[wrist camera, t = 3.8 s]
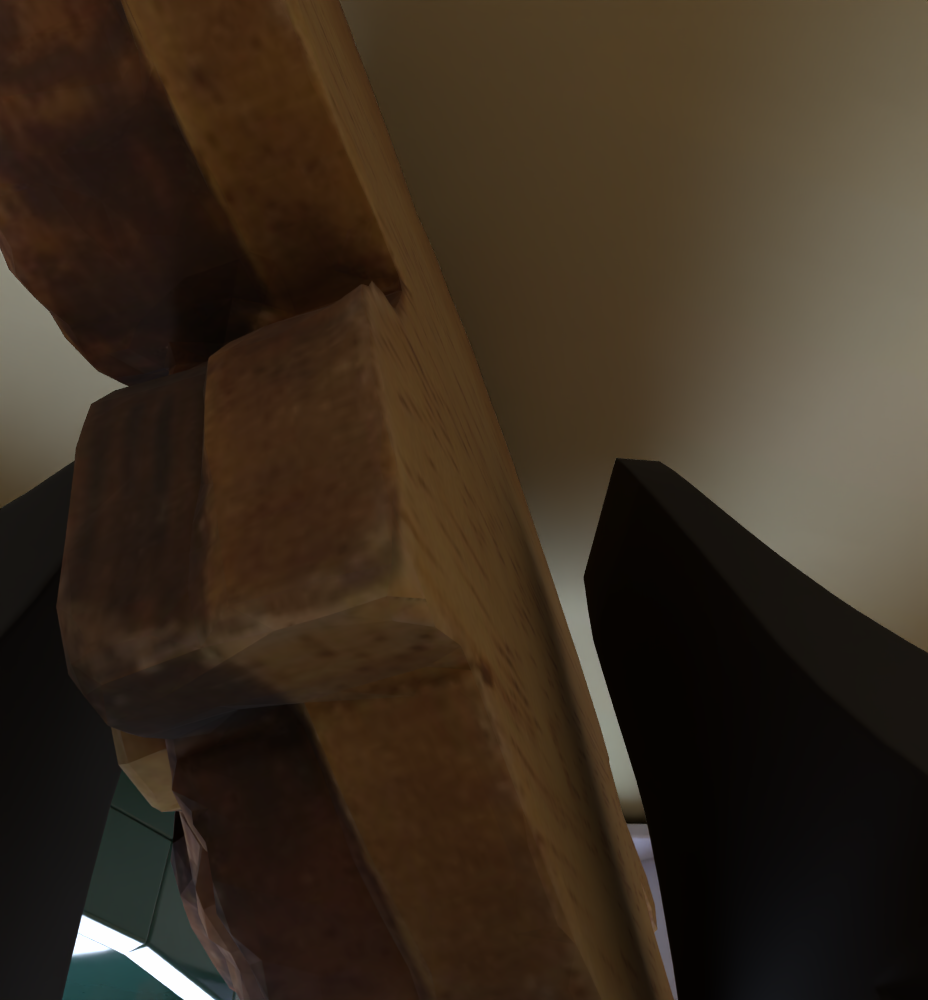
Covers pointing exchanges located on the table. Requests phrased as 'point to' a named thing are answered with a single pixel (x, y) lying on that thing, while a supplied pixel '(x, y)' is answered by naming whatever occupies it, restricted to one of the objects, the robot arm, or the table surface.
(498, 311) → the table surface
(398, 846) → the wooden carving
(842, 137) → the table surface
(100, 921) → the teal bowl
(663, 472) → the robot arm
